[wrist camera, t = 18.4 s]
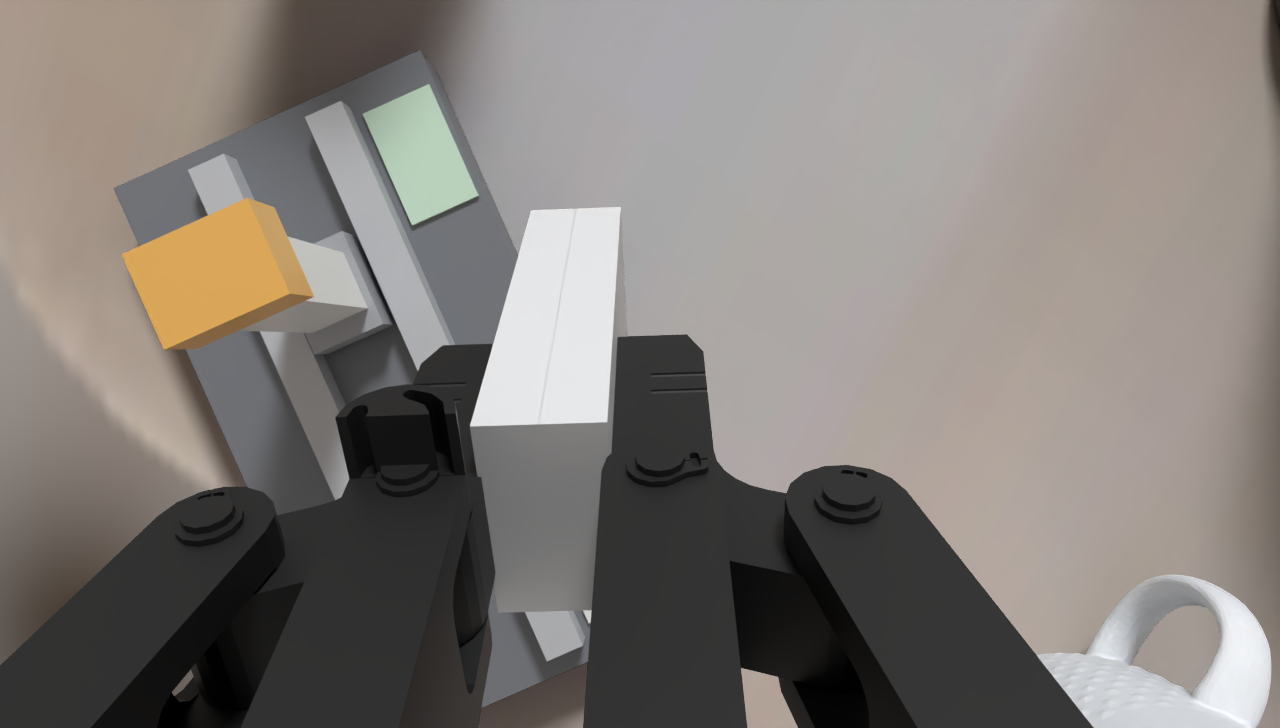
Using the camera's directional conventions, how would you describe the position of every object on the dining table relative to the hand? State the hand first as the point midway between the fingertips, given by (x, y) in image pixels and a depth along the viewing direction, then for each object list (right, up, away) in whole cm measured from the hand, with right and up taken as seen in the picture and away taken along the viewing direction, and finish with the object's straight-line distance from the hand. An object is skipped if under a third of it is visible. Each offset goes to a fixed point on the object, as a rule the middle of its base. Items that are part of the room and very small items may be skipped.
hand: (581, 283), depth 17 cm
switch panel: (-9, -3, +27) cm, 29 cm away
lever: (-11, +1, +23) cm, 26 cm away
